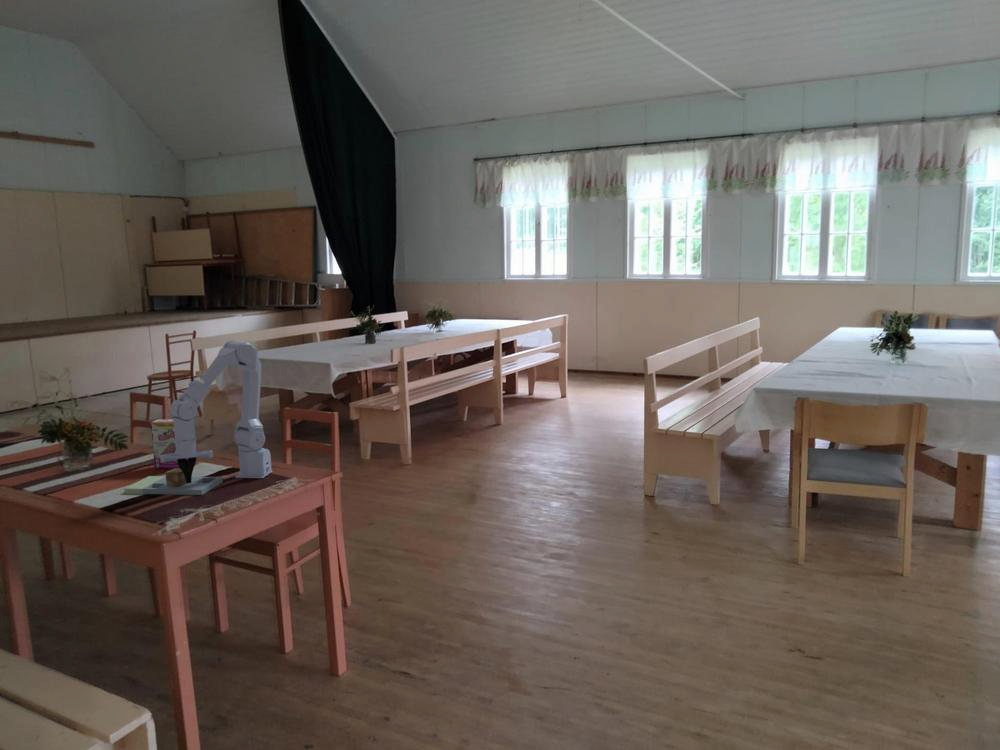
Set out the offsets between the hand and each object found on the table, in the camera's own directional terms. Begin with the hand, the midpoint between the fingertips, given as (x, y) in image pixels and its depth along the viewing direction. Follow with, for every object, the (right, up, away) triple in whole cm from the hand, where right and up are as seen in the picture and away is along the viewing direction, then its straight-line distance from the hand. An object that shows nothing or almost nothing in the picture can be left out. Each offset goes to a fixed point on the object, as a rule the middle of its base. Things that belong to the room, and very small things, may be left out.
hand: (189, 482), depth 227 cm
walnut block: (-4, -1, +2) cm, 5 cm away
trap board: (-6, -2, +4) cm, 8 cm away
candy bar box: (-17, +1, +28) cm, 33 cm away
